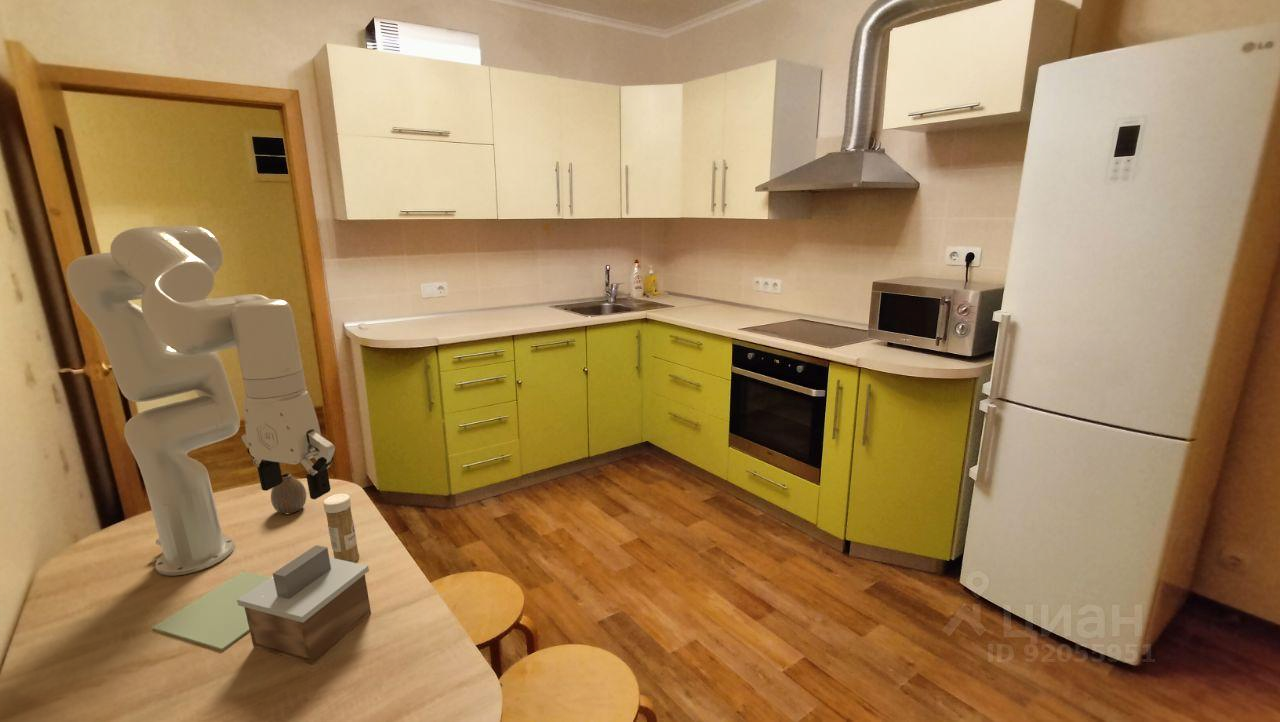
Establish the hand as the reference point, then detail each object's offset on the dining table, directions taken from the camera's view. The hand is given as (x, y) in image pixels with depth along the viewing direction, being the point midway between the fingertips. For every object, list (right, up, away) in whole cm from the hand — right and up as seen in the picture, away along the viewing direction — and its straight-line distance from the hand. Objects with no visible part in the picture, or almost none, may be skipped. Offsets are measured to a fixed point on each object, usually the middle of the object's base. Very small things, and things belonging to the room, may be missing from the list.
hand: (296, 490), depth 89 cm
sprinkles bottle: (-5, -19, +25) cm, 32 cm away
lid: (-1, -18, +4) cm, 18 cm away
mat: (-18, -23, +11) cm, 31 cm away
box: (0, -24, +6) cm, 25 cm away
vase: (-27, -15, +44) cm, 54 cm away
